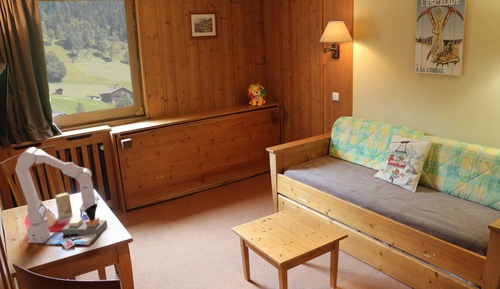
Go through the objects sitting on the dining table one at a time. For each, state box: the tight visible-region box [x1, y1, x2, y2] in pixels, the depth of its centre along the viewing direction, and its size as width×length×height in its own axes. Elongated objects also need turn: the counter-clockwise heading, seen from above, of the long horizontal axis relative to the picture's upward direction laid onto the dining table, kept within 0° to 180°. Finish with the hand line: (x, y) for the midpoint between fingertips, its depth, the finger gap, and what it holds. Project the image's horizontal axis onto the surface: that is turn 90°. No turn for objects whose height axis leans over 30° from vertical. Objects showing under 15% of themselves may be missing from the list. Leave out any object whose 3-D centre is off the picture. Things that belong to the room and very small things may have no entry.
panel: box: [61, 219, 108, 236], centre depth 210 cm, size 10×18×3 cm, turn 82°
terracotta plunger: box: [86, 217, 100, 227], centre depth 209 cm, size 5×5×5 cm
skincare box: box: [54, 192, 73, 219], centre depth 227 cm, size 6×4×12 cm
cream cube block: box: [68, 218, 83, 227], centre depth 211 cm, size 5×5×5 cm
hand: (92, 219), depth 208 cm, fingers closed, pressing on terracotta plunger
